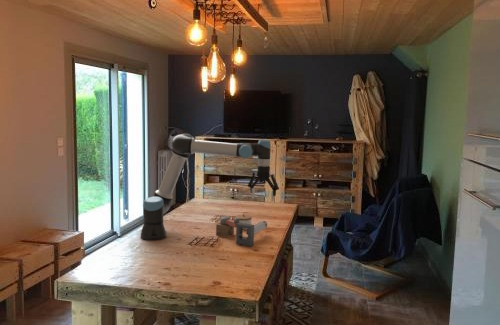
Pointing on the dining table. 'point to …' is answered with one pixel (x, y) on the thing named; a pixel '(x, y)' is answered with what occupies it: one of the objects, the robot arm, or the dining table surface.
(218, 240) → the dining table surface
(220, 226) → the tan square block
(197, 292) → the dining table surface
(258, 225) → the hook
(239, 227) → the dark boxy piece
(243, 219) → the lidded jar
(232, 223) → the ball ended rod
